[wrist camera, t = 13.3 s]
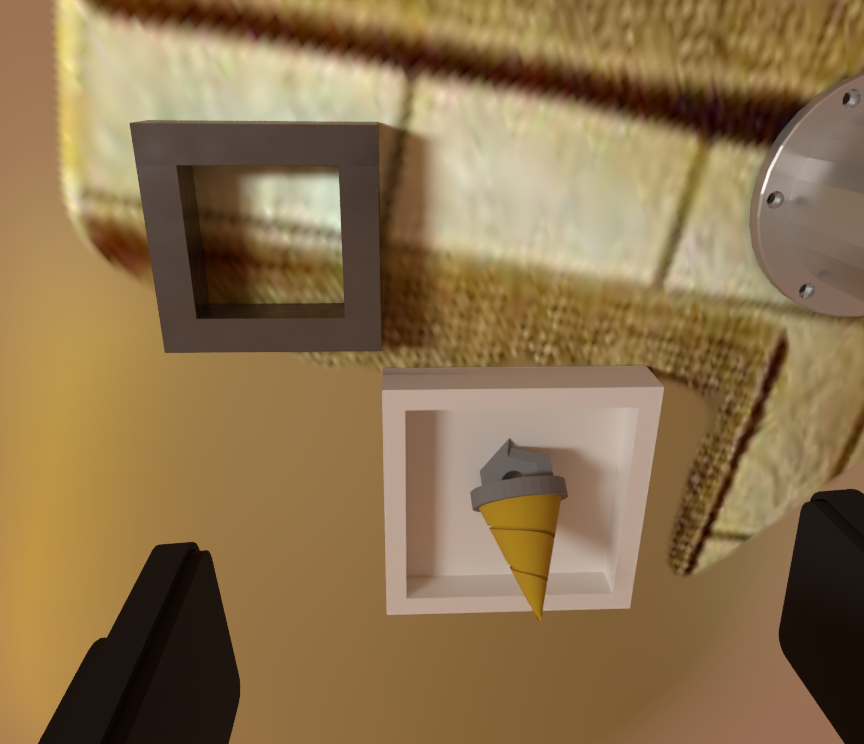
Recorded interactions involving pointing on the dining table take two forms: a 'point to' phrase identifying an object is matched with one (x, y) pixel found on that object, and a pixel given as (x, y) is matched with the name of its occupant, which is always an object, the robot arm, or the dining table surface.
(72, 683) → the robot arm
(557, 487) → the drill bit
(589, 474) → the tray
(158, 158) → the socket collar
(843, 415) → the dining table surface
